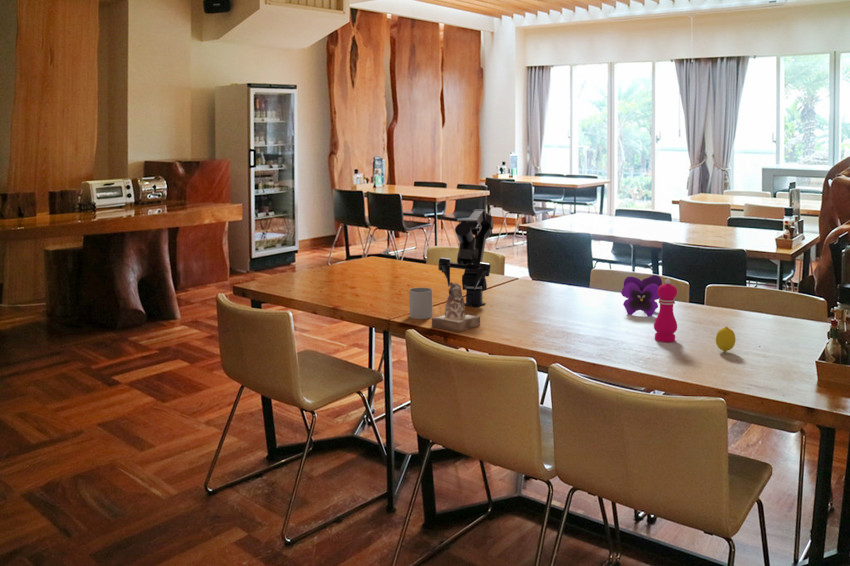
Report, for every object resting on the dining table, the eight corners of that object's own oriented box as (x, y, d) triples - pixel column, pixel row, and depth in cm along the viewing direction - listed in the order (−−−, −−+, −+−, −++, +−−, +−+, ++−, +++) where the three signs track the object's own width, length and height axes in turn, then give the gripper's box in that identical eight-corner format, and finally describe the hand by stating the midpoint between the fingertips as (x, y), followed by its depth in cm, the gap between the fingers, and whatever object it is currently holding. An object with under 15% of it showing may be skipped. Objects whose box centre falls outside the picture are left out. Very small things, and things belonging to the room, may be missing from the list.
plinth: (453, 320, 277) (453, 311, 277) (480, 325, 269) (480, 316, 269) (431, 326, 268) (431, 317, 268) (458, 332, 261) (458, 323, 260)
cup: (429, 319, 279) (429, 292, 277) (407, 318, 280) (407, 291, 278) (434, 314, 287) (433, 287, 285) (412, 313, 288) (412, 287, 286)
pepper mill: (649, 337, 251) (652, 277, 247) (671, 336, 252) (674, 276, 248) (658, 343, 244) (661, 281, 240) (680, 342, 245) (683, 280, 241)
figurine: (451, 320, 264) (450, 286, 262) (441, 315, 270) (440, 282, 268) (469, 317, 267) (468, 283, 265) (458, 313, 274) (458, 280, 271)
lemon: (717, 348, 237) (719, 323, 236) (736, 351, 234) (738, 326, 233) (712, 353, 233) (714, 327, 231) (732, 355, 230) (733, 330, 228)
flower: (622, 321, 293) (618, 312, 281) (626, 283, 297) (622, 273, 285) (662, 324, 288) (659, 315, 276) (665, 286, 291) (663, 275, 279)
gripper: (441, 236, 276) (436, 274, 269) (493, 242, 275) (489, 281, 268) (441, 250, 286) (435, 288, 279) (491, 256, 285) (486, 294, 278)
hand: (461, 287), depth 276 cm, fingers open, 9 cm apart
